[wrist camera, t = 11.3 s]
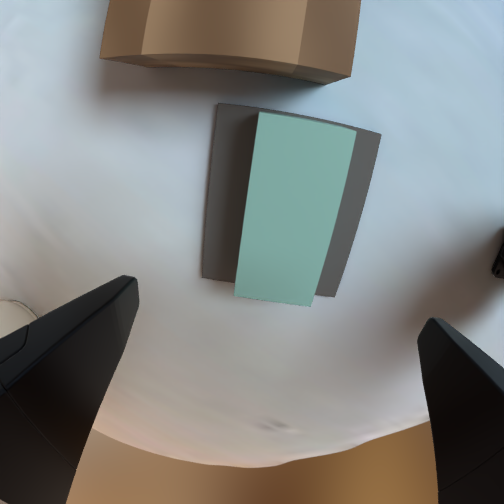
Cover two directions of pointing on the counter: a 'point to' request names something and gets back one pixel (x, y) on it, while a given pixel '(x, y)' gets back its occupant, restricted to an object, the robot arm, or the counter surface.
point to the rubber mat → (236, 189)
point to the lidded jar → (14, 316)
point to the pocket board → (236, 35)
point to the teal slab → (291, 207)
